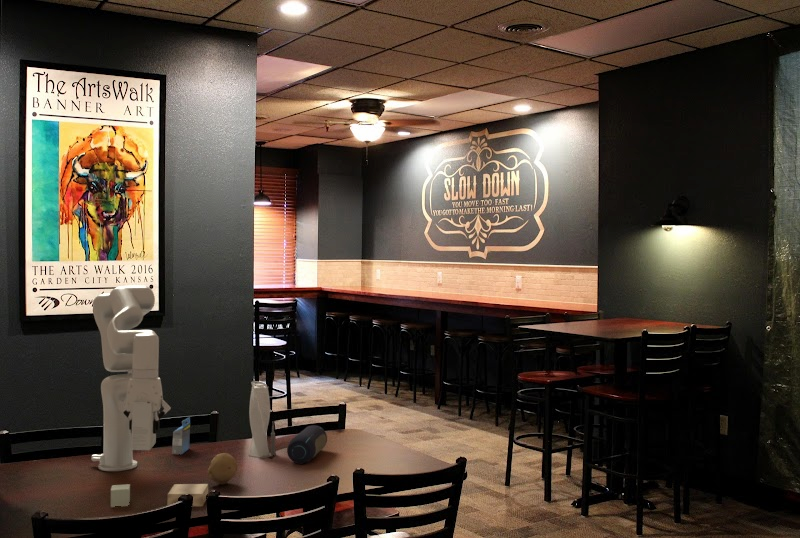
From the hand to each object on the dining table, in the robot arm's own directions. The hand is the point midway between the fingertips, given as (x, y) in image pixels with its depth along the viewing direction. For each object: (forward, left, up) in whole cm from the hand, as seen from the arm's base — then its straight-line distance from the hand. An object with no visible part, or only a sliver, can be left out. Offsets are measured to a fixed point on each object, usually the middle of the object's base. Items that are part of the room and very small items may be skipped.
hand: (144, 431), depth 240 cm
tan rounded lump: (+22, +9, -19) cm, 31 cm away
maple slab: (+15, -8, -19) cm, 26 cm away
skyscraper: (+28, +46, -19) cm, 58 cm away
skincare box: (0, 0, -5) cm, 5 cm away
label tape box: (-2, +51, -19) cm, 55 cm away
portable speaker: (+46, +45, -19) cm, 67 cm away
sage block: (-4, -11, -19) cm, 22 cm away
